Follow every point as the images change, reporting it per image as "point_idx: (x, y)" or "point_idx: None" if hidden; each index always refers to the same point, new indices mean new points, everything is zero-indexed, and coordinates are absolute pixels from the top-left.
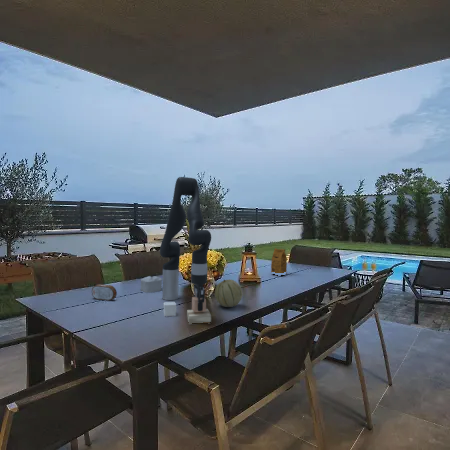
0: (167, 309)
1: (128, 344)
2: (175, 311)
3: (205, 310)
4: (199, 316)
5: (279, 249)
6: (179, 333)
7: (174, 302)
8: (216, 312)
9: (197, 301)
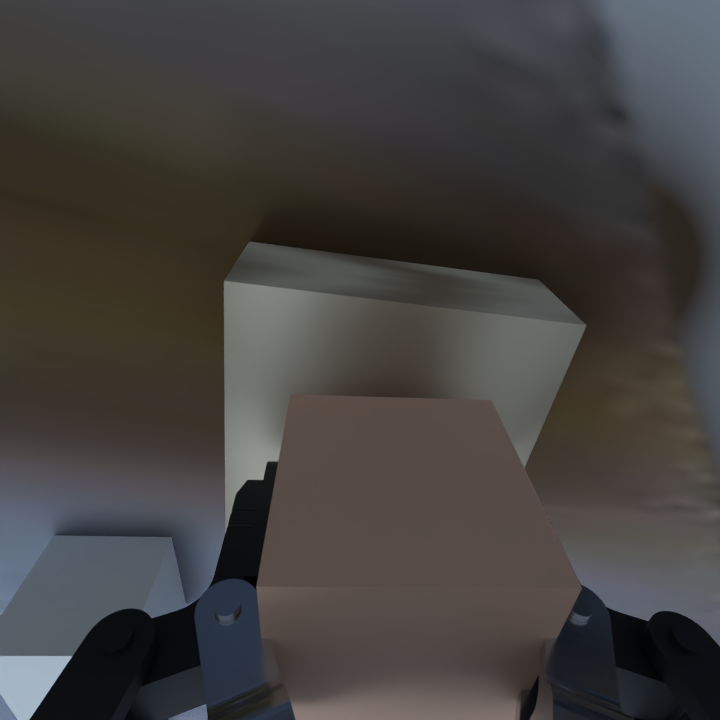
0: None
1: None
2: (156, 581)
3: (495, 415)
4: (524, 460)
5: None
6: (628, 565)
7: (16, 660)
8: (31, 9)
9: None
